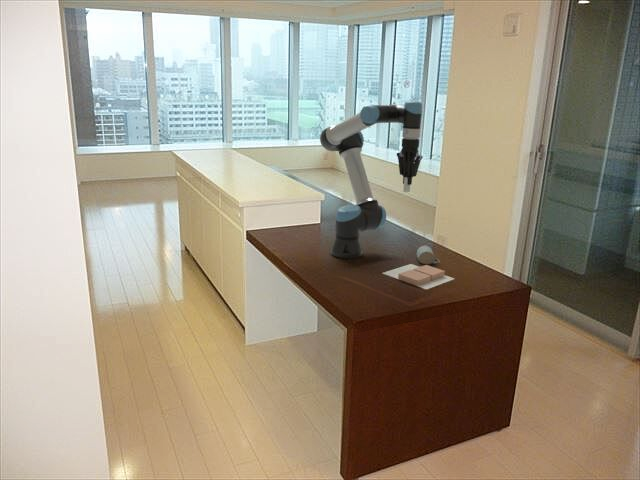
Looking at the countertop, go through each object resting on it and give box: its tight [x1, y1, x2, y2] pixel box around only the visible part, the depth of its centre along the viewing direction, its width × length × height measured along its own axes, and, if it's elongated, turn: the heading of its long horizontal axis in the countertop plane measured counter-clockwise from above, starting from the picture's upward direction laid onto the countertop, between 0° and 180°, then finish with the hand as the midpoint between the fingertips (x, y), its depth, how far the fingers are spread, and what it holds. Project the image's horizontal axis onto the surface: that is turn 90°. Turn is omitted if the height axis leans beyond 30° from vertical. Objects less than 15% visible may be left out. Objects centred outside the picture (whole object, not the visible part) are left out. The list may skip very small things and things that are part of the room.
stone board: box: [382, 263, 455, 290], centre depth 229 cm, size 24×20×1 cm
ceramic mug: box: [416, 245, 441, 265], centre depth 247 cm, size 11×8×8 cm
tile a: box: [397, 270, 431, 286], centre depth 223 cm, size 2×9×10 cm
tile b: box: [413, 264, 446, 280], centre depth 230 cm, size 2×9×10 cm
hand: (406, 191), depth 237 cm, fingers closed
